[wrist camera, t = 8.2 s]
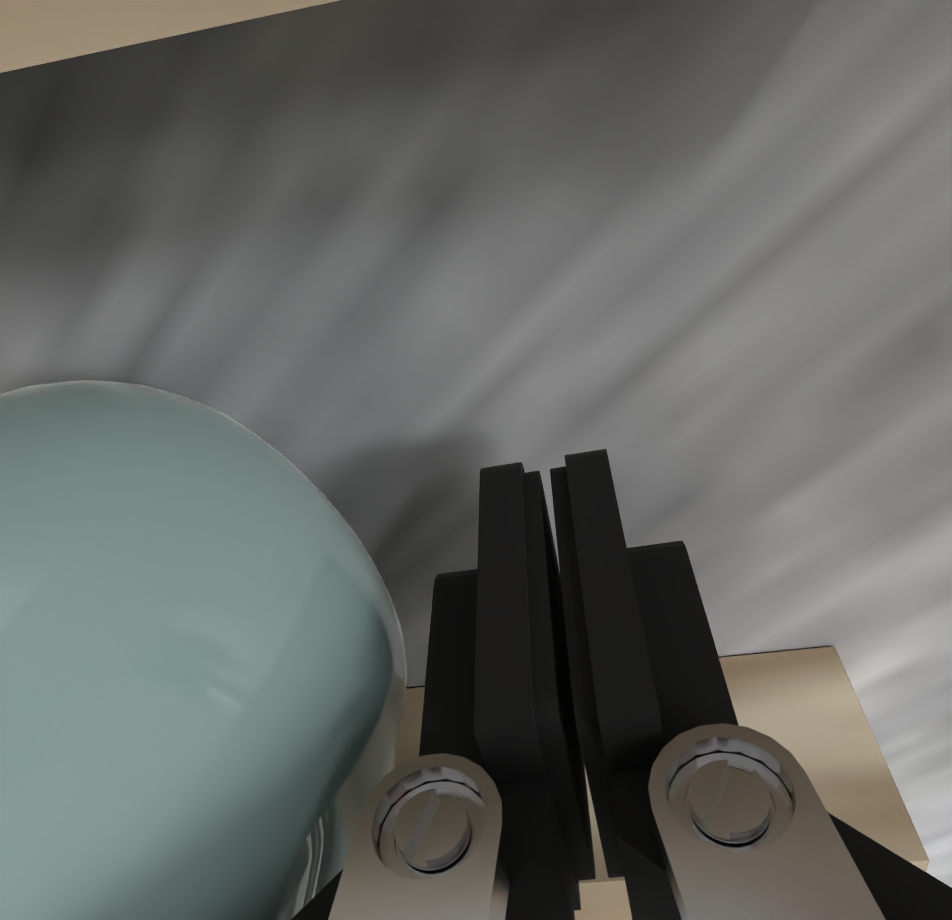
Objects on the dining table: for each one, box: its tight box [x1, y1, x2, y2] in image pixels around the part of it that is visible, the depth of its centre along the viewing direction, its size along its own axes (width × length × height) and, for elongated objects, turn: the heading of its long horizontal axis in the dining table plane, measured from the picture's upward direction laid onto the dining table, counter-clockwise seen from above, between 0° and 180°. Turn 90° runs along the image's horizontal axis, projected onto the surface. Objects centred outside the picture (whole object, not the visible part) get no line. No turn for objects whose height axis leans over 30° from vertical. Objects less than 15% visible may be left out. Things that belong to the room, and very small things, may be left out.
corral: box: [0, 0, 929, 920], centre depth 11 cm, size 16×18×4 cm
